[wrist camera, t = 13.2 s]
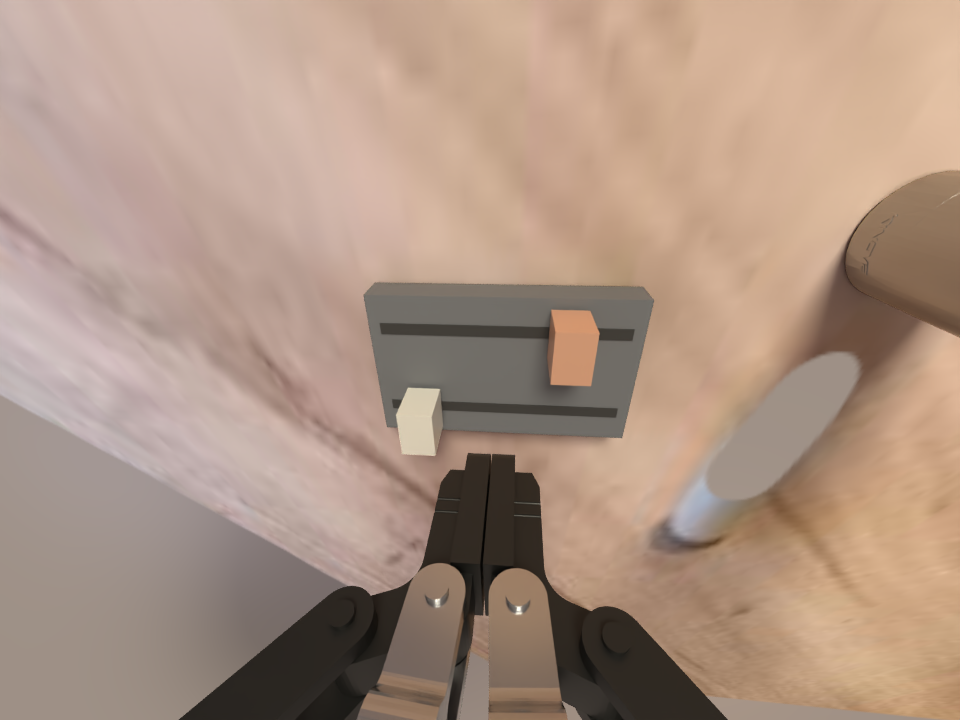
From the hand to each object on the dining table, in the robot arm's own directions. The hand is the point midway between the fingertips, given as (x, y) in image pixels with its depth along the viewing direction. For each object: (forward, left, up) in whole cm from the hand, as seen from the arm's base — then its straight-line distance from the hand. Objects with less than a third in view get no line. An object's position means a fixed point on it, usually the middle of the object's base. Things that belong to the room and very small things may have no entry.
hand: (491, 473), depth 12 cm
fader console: (0, +9, -23) cm, 25 cm away
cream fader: (+7, +13, -20) cm, 24 cm away
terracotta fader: (-5, +5, -20) cm, 21 cm away
